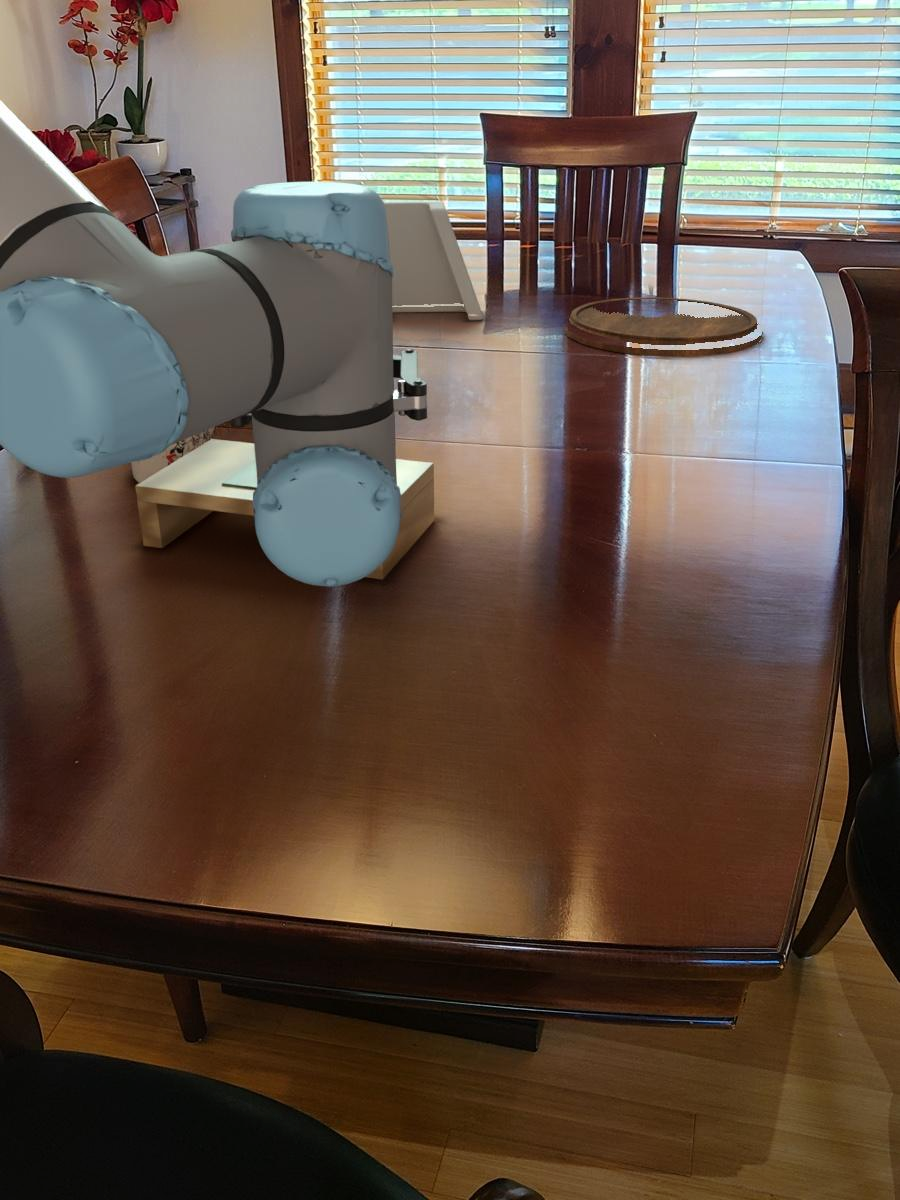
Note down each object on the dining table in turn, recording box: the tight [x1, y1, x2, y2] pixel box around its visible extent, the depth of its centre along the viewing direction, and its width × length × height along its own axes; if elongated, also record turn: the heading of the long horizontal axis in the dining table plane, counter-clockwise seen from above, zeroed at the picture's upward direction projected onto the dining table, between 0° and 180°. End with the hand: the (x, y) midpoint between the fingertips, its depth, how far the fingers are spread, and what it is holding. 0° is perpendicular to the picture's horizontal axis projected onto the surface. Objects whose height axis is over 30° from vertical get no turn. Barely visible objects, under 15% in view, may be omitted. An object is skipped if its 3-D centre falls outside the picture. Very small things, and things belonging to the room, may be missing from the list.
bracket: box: [383, 201, 484, 321], centre depth 183 cm, size 30×10×30 cm, turn 93°
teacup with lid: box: [130, 427, 215, 484], centre depth 116 cm, size 12×9×12 cm
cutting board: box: [562, 296, 764, 357], centre depth 176 cm, size 32×32×2 cm
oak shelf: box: [134, 438, 435, 580], centre depth 102 cm, size 24×14×6 cm, turn 72°
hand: (329, 344), depth 88 cm, fingers closed on condiment, 6 cm apart
